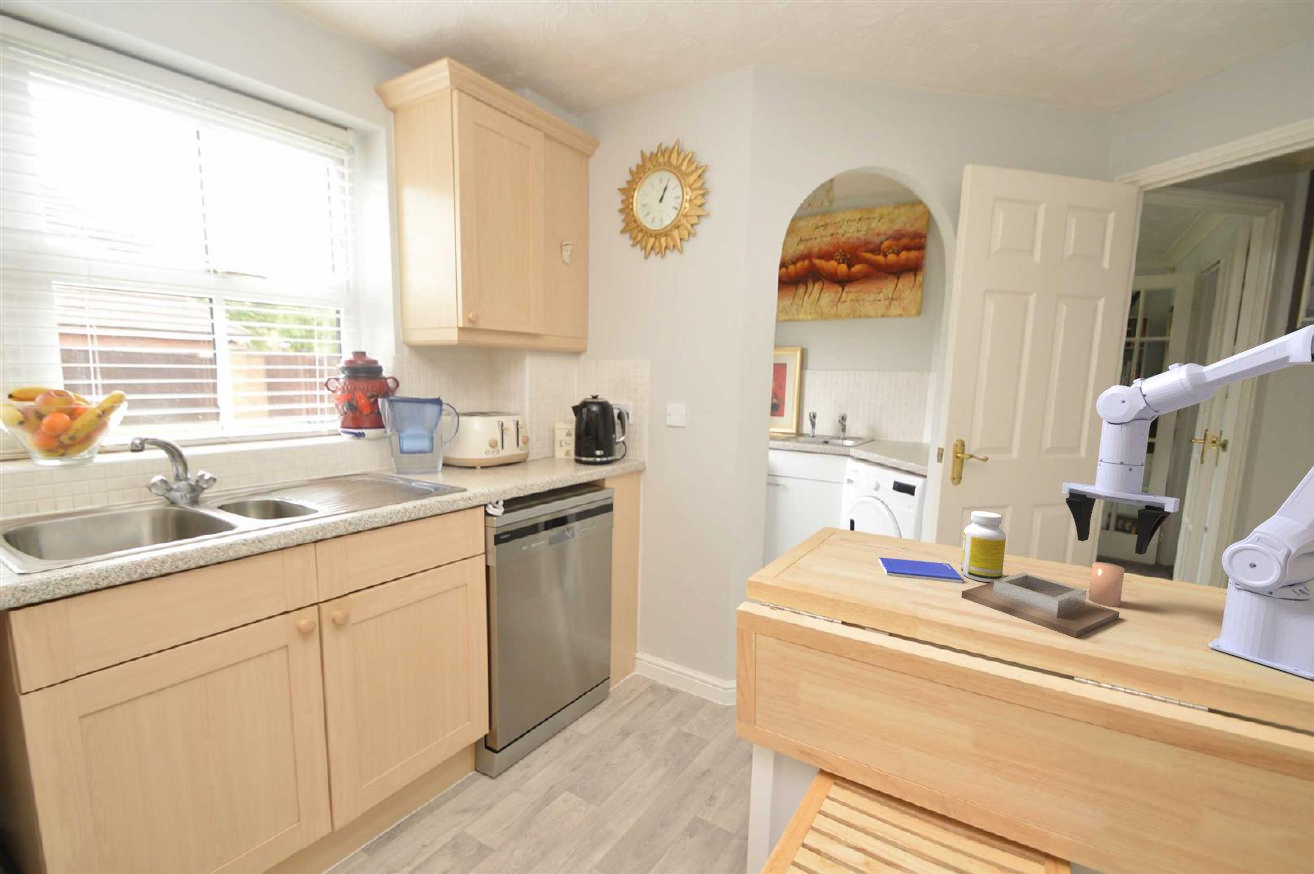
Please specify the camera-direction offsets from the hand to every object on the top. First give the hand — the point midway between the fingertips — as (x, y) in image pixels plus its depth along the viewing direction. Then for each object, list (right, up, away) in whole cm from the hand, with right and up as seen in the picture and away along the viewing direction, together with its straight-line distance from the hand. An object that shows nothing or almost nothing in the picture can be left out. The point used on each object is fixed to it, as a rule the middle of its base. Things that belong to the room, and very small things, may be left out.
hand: (1110, 546), depth 89 cm
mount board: (-14, -9, -2) cm, 16 cm away
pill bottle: (-15, -8, +11) cm, 20 cm away
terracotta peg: (0, -9, +1) cm, 9 cm away
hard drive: (-25, -8, +13) cm, 29 cm away
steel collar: (-14, -9, -2) cm, 16 cm away
